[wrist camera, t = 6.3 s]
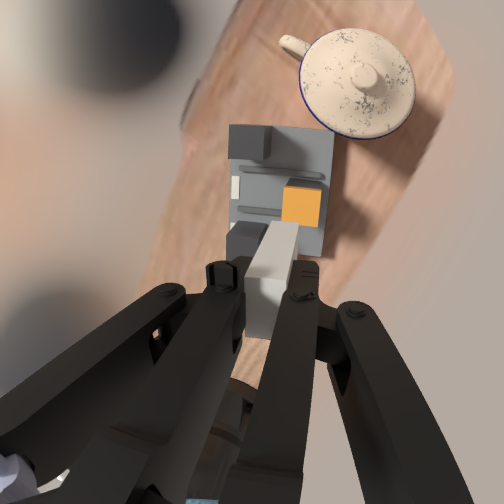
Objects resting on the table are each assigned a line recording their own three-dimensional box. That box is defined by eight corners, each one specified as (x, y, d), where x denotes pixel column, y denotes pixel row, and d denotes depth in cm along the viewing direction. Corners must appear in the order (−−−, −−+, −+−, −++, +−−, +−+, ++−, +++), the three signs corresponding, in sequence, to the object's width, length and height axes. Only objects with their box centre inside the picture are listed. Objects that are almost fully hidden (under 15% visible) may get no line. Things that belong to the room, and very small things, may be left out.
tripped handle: (317, 210, 31) (317, 227, 26) (287, 207, 31) (281, 223, 27) (321, 180, 29) (321, 191, 25) (289, 177, 30) (283, 187, 25)
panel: (320, 249, 34) (320, 276, 29) (233, 239, 36) (216, 262, 30) (333, 131, 29) (337, 132, 23) (236, 124, 31) (217, 124, 25)
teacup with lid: (407, 89, 26) (451, 73, 15) (359, 154, 30) (381, 169, 19) (310, 21, 25) (305, -27, 14) (262, 86, 29) (233, 67, 18)
